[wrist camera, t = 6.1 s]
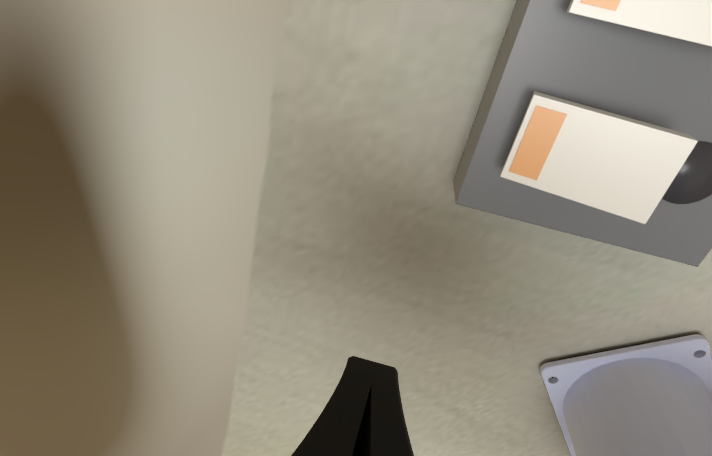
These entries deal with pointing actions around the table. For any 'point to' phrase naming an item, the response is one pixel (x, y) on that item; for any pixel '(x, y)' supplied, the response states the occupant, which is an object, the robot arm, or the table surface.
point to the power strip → (605, 92)
